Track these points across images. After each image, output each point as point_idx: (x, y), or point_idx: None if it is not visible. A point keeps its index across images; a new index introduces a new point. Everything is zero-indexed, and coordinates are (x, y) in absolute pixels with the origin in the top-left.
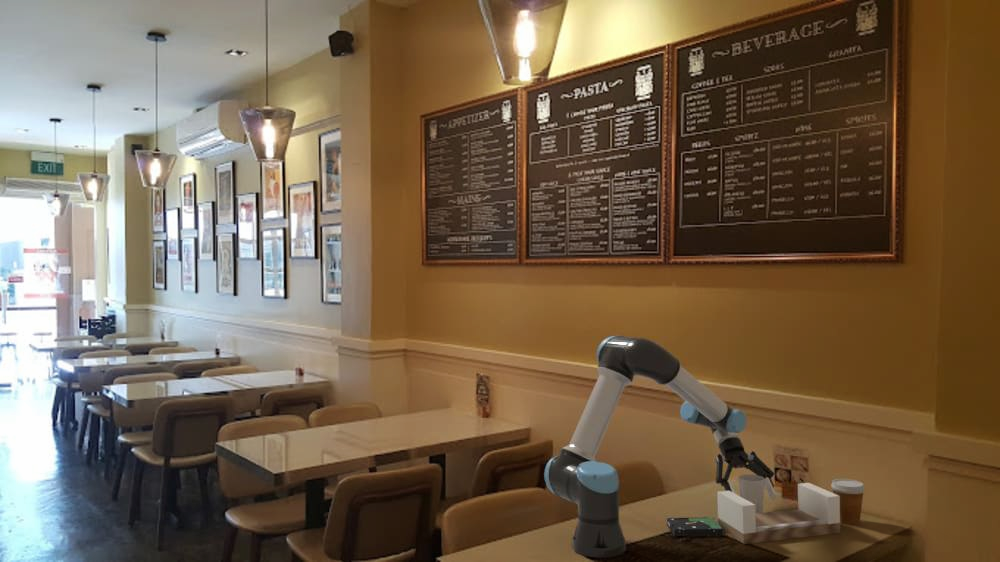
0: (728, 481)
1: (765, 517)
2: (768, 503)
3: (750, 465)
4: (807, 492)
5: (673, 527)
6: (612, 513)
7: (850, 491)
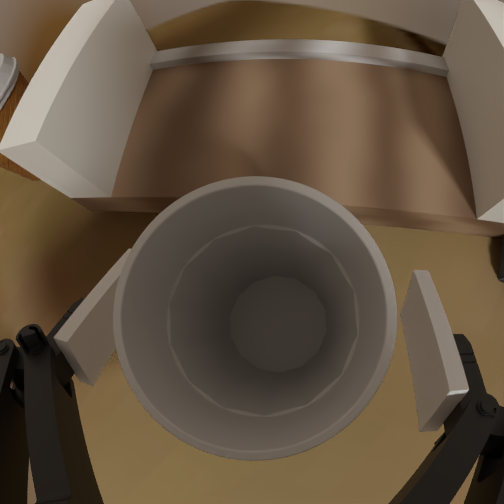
0: (466, 391)
1: (327, 146)
2: (108, 413)
3: (78, 500)
4: (79, 85)
5: None
6: None
7: (13, 57)
